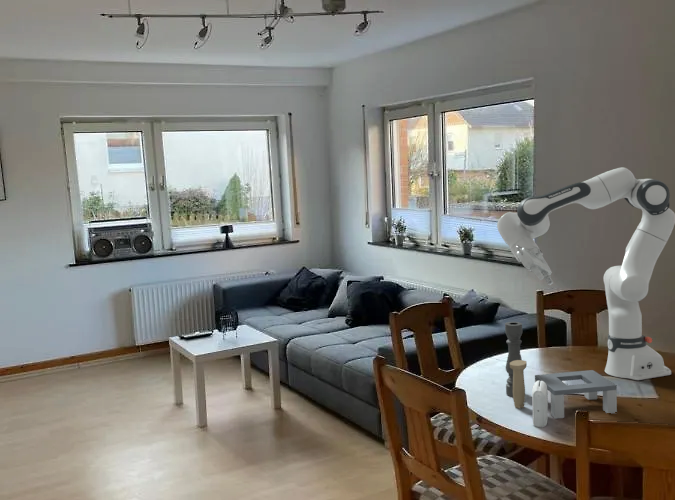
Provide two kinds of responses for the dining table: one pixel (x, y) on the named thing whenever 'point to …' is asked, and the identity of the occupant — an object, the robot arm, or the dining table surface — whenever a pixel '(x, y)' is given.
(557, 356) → the dining table surface
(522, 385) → the handle
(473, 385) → the dining table surface
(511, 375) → the candle holder
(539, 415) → the photo printer
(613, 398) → the hole stand
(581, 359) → the dining table surface
